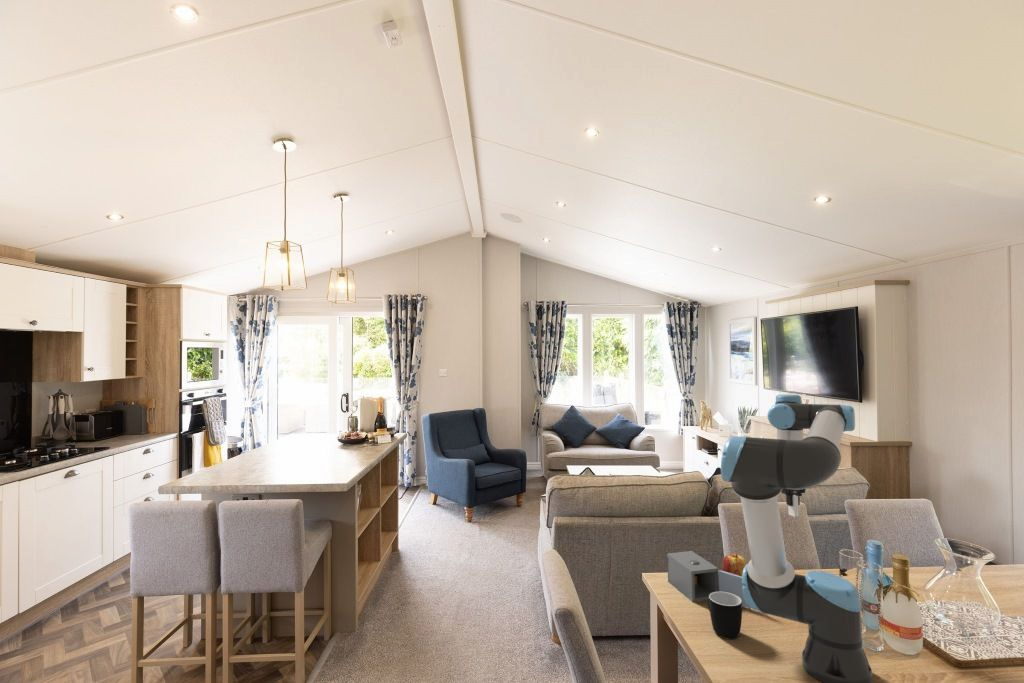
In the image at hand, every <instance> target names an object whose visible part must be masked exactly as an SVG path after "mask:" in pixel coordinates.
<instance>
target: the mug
mask: <svg viewBox="0 0 1024 683" xmlns="http://www.w3.org/2000/svg"><path fill="white" fill-rule="evenodd" d="M707 601H708V602H707V606H708V610H709V615H710V621H711V624H712V629H713V631H714V634H716V635H717V636H718V637H720V638H723V639H727V640H735V639H737V638H738V637H739V636H740V633H741V628H742V622H743V621H742V618H743V606H742V600H741V599H740V598H739V597H738V596H736V595H734V594H732V593H728V592H713V593H711V594H710V595H709V600H707Z"/></svg>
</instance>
